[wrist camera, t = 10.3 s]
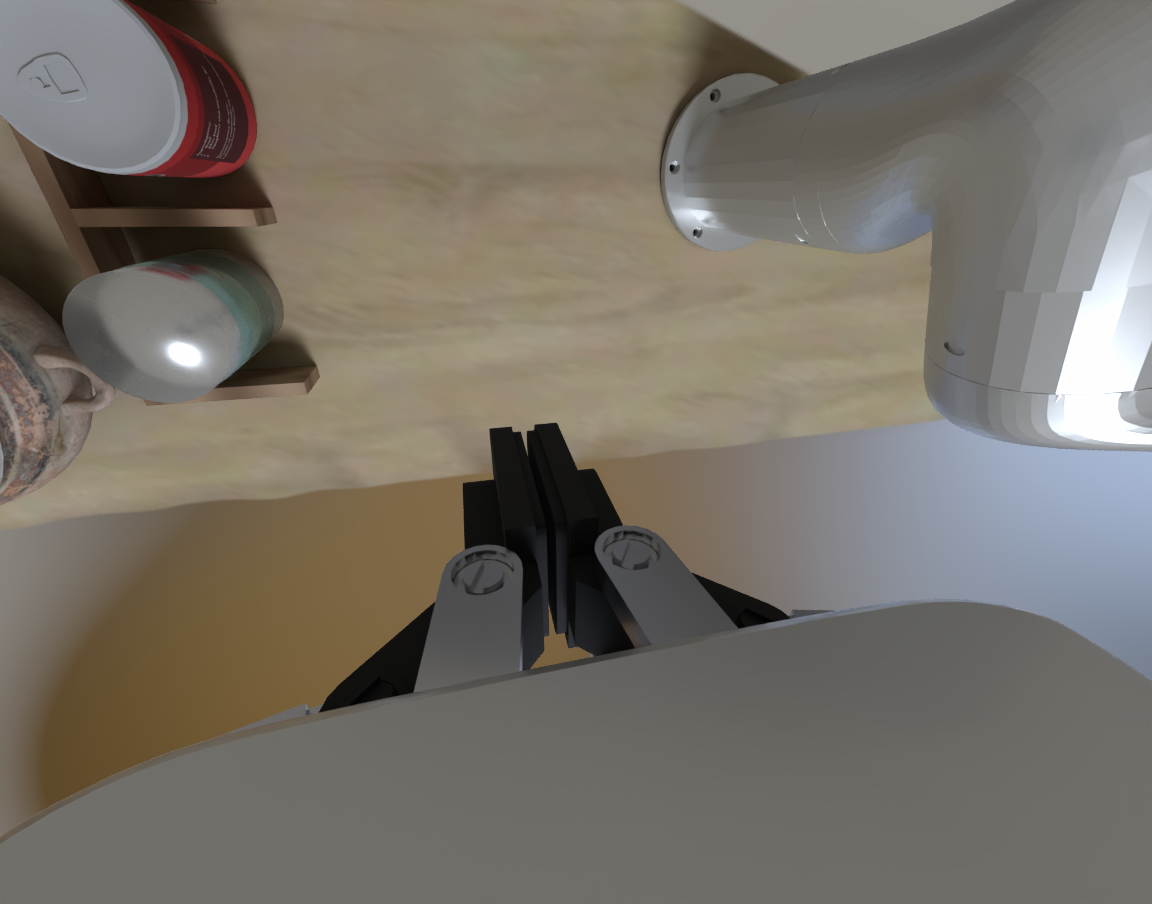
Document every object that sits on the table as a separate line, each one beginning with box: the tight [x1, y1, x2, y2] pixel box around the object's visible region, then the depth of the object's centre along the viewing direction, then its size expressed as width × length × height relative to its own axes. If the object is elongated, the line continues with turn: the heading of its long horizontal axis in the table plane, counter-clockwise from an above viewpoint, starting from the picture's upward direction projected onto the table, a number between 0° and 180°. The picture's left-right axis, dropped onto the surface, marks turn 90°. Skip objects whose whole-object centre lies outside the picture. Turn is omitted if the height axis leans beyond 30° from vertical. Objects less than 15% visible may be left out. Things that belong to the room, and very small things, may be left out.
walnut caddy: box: [8, 0, 320, 406], centre depth 31 cm, size 11×25×4 cm, turn 179°
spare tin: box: [62, 249, 284, 403], centre depth 31 cm, size 8×8×11 cm
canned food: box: [0, 0, 257, 178], centre depth 26 cm, size 8×8×11 cm
